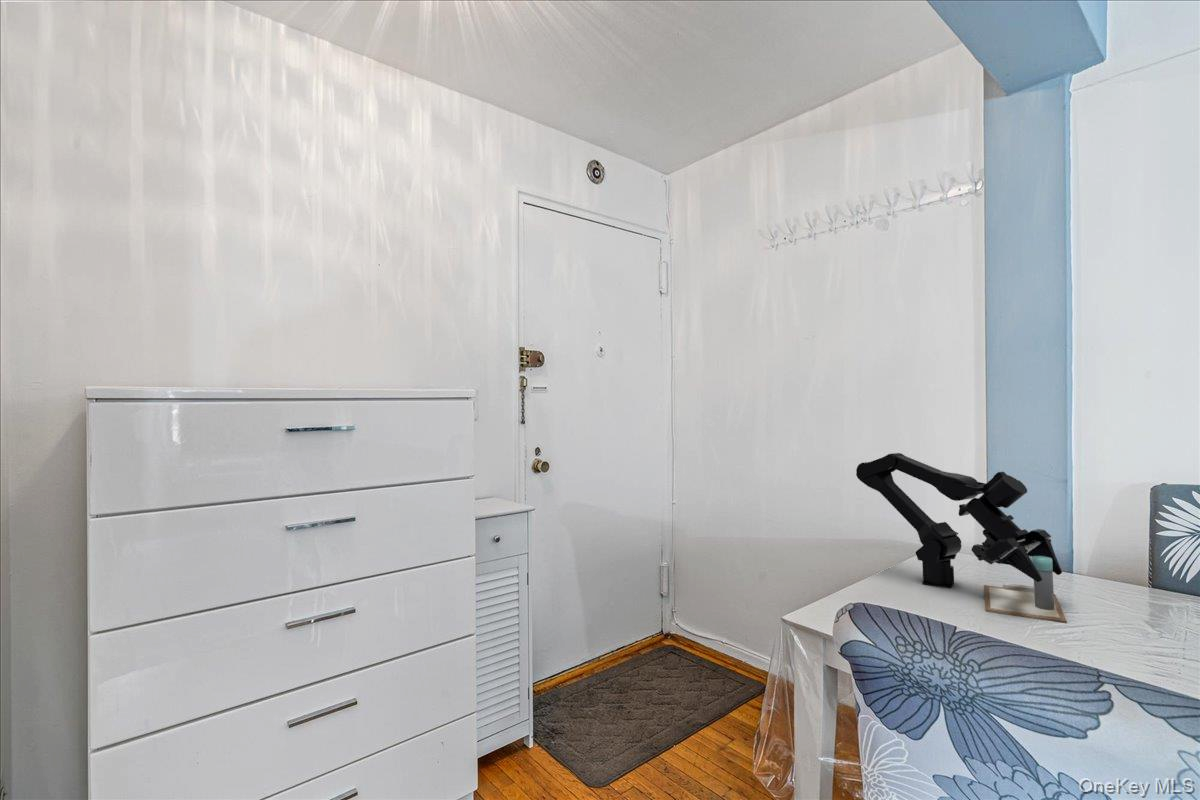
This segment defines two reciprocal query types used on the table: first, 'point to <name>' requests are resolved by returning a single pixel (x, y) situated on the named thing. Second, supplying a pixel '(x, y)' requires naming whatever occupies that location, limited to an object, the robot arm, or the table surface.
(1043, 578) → the marker
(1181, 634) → the table surface
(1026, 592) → the clipboard
